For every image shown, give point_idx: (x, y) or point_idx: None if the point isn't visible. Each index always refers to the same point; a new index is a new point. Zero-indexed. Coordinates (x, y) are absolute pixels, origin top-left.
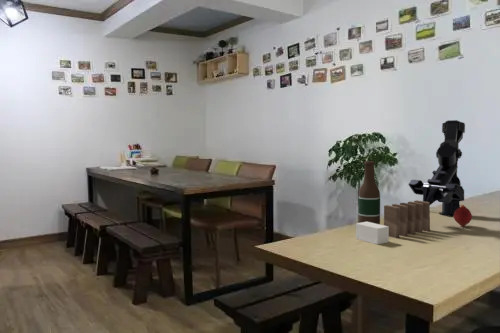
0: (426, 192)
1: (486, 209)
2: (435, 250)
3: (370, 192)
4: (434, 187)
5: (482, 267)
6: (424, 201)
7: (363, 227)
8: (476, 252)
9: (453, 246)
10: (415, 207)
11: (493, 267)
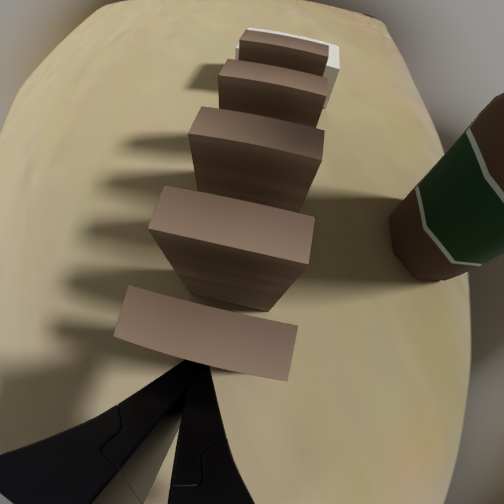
0: (172, 480)
1: None
2: (97, 104)
3: (496, 100)
4: (4, 496)
5: (29, 90)
6: (177, 356)
7: None
8: (15, 157)
9: (55, 165)
10: (190, 147)
11: (14, 102)
